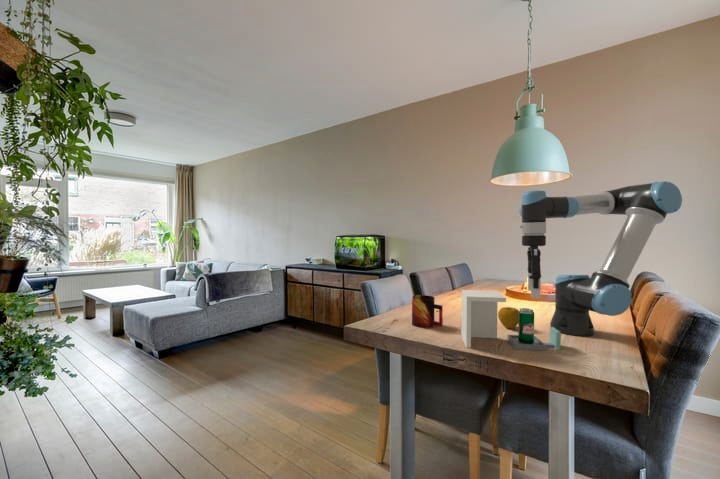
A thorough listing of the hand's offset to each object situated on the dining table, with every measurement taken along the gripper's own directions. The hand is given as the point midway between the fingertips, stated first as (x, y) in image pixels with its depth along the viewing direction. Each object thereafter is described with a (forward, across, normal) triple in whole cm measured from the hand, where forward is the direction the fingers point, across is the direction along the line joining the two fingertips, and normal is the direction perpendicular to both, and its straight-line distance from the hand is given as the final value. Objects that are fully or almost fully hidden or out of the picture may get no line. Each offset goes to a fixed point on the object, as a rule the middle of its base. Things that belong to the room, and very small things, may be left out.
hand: (533, 294), depth 117 cm
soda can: (+18, +1, -3) cm, 18 cm away
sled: (+18, 0, 0) cm, 18 cm away
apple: (+19, -20, -8) cm, 28 cm away
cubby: (+18, +4, -17) cm, 25 cm away
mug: (+18, -10, -40) cm, 45 cm away
